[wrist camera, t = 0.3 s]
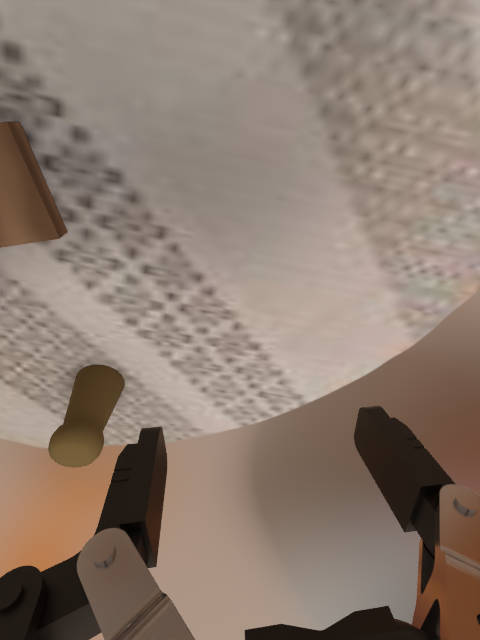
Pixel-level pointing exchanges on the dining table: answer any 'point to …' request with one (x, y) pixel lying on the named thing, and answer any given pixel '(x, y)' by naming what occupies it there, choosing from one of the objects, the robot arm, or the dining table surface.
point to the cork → (86, 416)
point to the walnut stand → (24, 193)
